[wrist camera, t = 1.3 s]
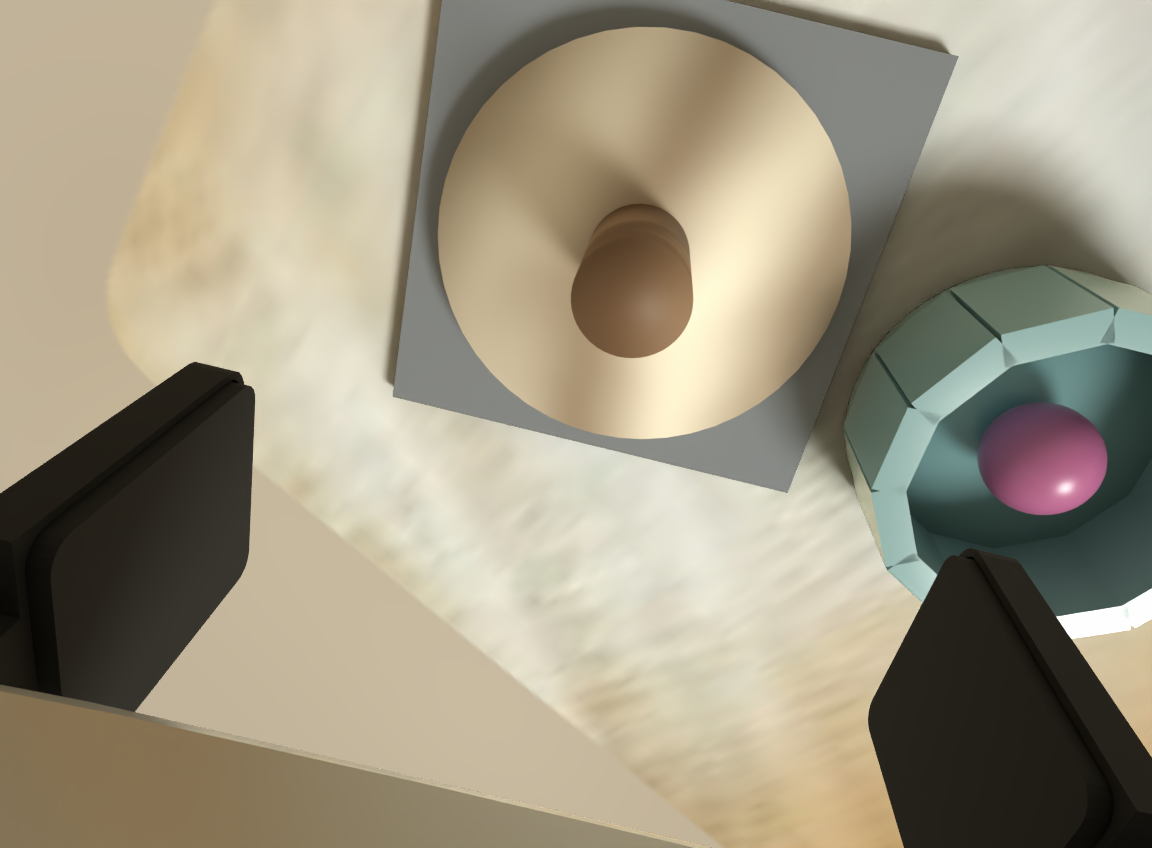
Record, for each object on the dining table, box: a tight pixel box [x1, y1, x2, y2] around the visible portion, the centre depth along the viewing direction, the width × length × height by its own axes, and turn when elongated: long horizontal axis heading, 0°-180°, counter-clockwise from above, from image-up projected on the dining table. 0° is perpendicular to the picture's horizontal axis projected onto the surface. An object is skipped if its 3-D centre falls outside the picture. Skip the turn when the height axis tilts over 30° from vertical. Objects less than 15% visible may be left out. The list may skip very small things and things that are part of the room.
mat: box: [393, 0, 959, 493], centre depth 27 cm, size 15×15×1 cm
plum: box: [977, 402, 1107, 515], centre depth 26 cm, size 4×4×4 cm
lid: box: [438, 27, 851, 439], centre depth 24 cm, size 13×13×6 cm
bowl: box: [843, 265, 1152, 639], centre depth 26 cm, size 11×11×5 cm
